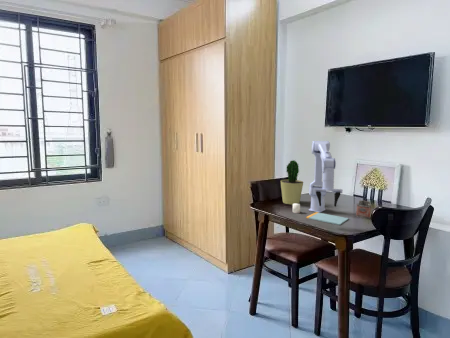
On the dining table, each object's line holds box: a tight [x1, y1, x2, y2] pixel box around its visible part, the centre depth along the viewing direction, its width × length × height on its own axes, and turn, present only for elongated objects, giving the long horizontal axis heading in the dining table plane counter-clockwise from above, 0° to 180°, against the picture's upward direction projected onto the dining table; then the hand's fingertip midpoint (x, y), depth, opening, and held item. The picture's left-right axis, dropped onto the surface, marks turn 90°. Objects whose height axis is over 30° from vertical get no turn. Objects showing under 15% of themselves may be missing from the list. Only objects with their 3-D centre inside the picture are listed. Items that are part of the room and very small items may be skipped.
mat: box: [305, 212, 349, 226], centre depth 187 cm, size 14×20×1 cm
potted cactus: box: [280, 159, 304, 206], centre depth 223 cm, size 15×15×30 cm
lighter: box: [355, 199, 372, 220], centre depth 191 cm, size 8×3×10 cm, turn 48°
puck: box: [292, 203, 301, 214], centre depth 201 cm, size 4×4×5 cm
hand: (327, 206), depth 174 cm, fingers open, 7 cm apart
